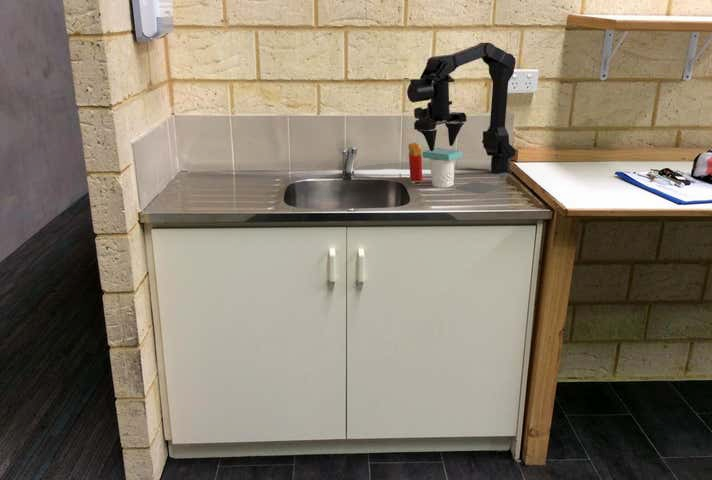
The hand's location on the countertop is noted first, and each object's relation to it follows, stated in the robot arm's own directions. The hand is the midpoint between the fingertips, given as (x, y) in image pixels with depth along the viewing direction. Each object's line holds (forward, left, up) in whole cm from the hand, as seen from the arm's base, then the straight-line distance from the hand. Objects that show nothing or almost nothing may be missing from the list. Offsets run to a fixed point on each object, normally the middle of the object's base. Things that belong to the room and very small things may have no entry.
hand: (441, 148), depth 193 cm
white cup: (0, 0, -13) cm, 13 cm away
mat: (-3, +12, -13) cm, 18 cm away
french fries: (-2, -14, -13) cm, 19 cm away
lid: (0, 0, -3) cm, 3 cm away
